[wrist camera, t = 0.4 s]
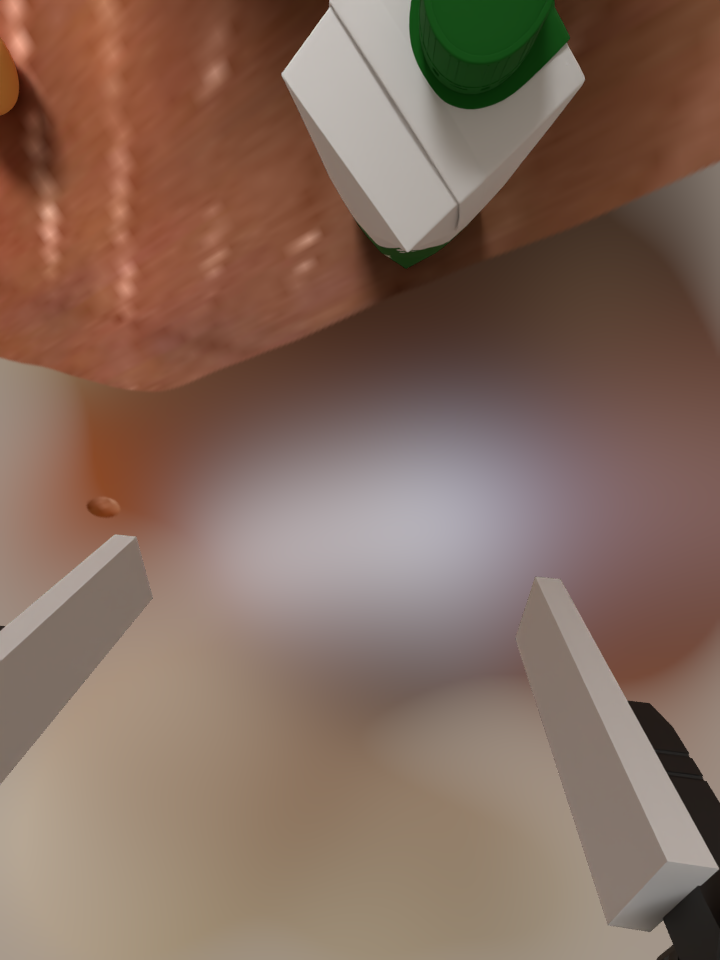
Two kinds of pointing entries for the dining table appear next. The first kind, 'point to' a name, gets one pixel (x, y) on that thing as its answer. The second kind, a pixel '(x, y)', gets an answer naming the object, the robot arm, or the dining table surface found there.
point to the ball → (7, 80)
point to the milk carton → (429, 108)
